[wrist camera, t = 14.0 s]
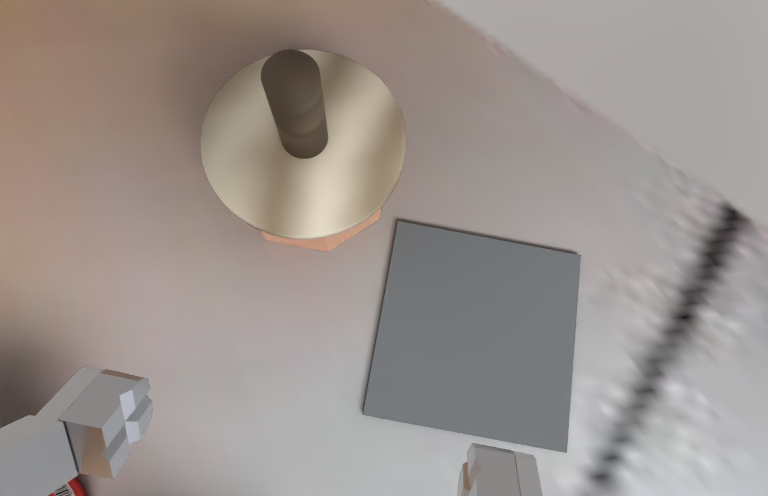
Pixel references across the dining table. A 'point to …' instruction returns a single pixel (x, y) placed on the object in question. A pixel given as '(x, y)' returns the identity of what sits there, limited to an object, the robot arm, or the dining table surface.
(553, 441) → the mat
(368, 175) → the lid
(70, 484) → the canned food
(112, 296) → the dining table surface
